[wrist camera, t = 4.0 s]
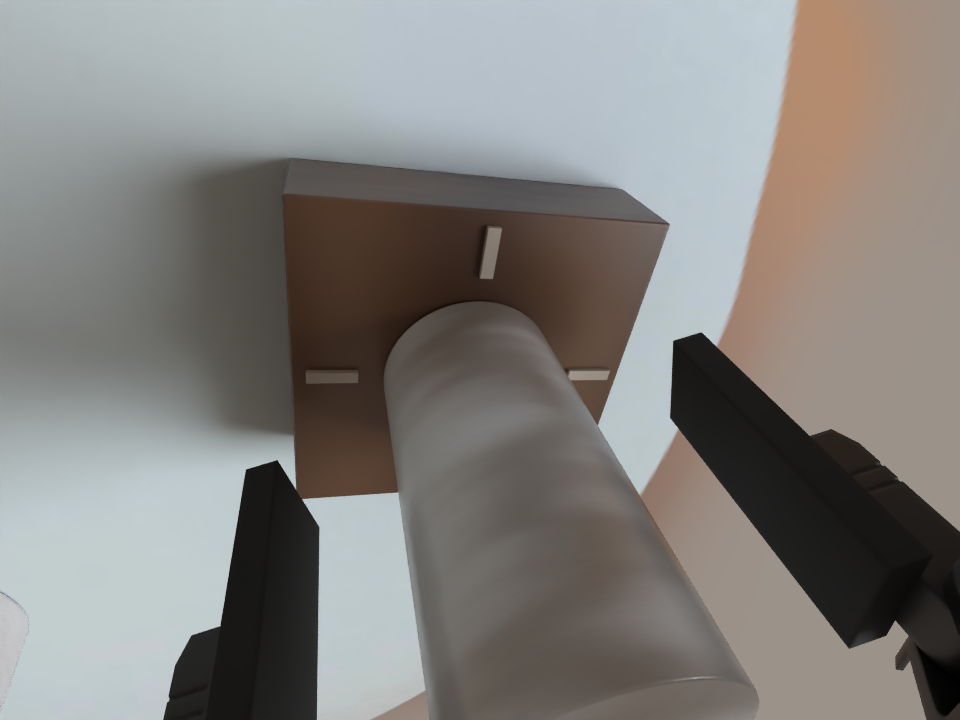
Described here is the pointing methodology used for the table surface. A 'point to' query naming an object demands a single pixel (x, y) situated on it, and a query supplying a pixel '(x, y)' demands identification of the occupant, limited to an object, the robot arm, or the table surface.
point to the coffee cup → (10, 641)
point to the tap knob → (537, 542)
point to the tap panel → (442, 290)
